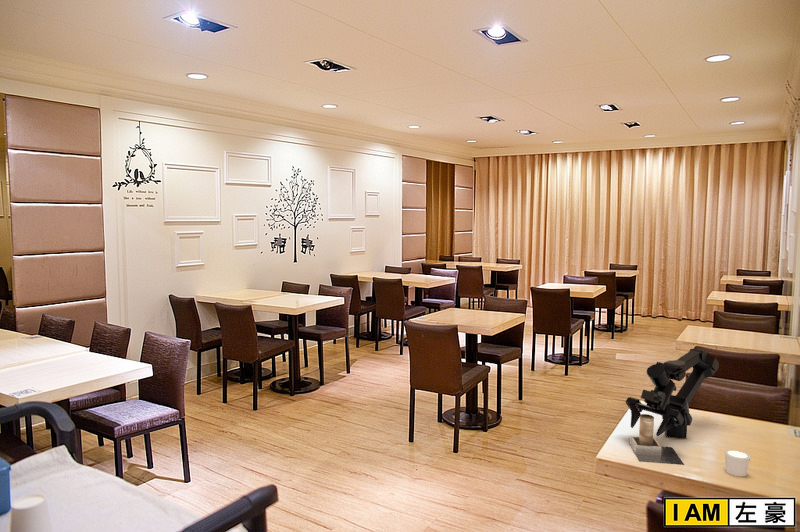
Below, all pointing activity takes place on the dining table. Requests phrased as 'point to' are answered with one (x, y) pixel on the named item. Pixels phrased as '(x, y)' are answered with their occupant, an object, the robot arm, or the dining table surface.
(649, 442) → the beige wooden block
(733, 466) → the white cylinder
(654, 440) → the dock plate
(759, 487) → the dining table surface
